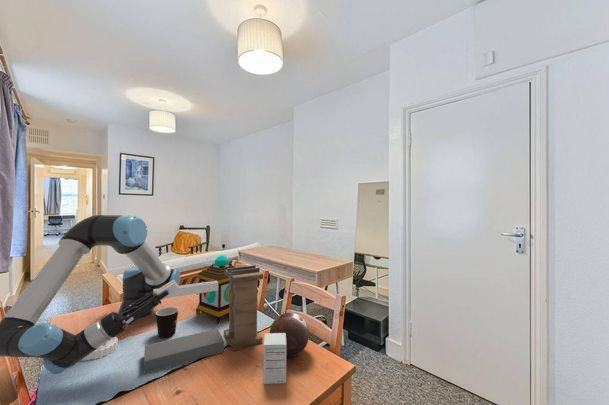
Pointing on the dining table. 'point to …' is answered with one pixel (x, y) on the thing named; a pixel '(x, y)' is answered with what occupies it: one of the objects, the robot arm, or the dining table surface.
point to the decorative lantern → (215, 300)
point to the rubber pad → (182, 350)
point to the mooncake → (103, 349)
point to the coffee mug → (166, 322)
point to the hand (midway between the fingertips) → (176, 284)
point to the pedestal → (243, 307)
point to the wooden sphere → (292, 332)
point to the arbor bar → (191, 289)
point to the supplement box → (274, 358)
